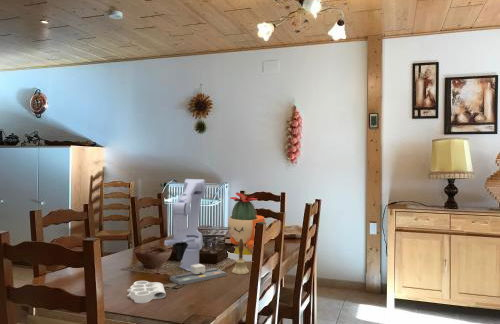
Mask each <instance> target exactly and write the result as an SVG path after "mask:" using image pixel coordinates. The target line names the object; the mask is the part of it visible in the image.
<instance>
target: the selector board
mask: <svg viewBox="0 0 500 324" xmlns="http://www.w3.org/2000/svg"><path fill="white" fill-rule="evenodd" d="M225 276H227V272H226V271H224V270H221V269H219V268H216V267H213V268H208V269H207V268H206V269H205V273H204V274H194V273H192V272H191V271H190V272H187V273H182V274H178V275H177V274H176V275H171V276H169V280H170V281H172V282H173V283H175V284H177V285H179V286H183V284H184V285H187V284H188V285H189V284H193V283H197V282H202V281H203V282H204V281H207V280H213V279H216V278H222V277H225Z"/></svg>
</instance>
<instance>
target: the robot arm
mask: <svg viewBox="0 0 500 324" xmlns="http://www.w3.org/2000/svg"><path fill="white" fill-rule="evenodd" d="M206 186H207V185H206V180H205V178H204V179H202V178H201V179H198V178H196V179H194V178H186V179H184V183H183V188H184V191H183V192H182V193H181V194H180V196H179V197H178V199H177V201H174V203H172V208H171V211H172V212H171V213H172V219H173V238H170V239H167V240H166V239H165V240H164V243H163V245H164V246H166V247H167V246H171V245H172V246H173V248H174V251H175V254H176V257H177V258H176V259H177V260H178V261H180V265H179V266H178V267H179V268H181V269H183V270H185V271H186V272H191V265H196V264H200V250H202V248H203V245H204V241H203V234H202V232H200V231H199V230H198V228H199V218H200V211H201V210H200V208H201V200H202V198H203V197H205V194H206ZM188 215H189V217H188Z"/></svg>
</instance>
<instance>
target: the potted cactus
mask: <svg viewBox="0 0 500 324" xmlns="http://www.w3.org/2000/svg"><path fill="white" fill-rule="evenodd" d="M235 195H236V196H237V197H235V196H234V197H233V196H232V197H229V198H230V199H231V200H233V201H234V202H235V203H234V205H233V207H232V209H231V212H230V214H231V215H230V216H229V217H228V223H227V226H228V231H229V233H230V238H229V241H230V243H231V244H233V245H235V246H233V247H234V248H235V251H234V253H230V252H228V251H227V253H228V257H227V258H228V259H229V258H230V259H229V260H232V259H233V260H232V261H236V260H238V259H239V248H238V246H236V245H238V244H239V241H240V239H242V240H243V243H244V248H243V252H242V255H243V257H242V258H243V260H245V263H246V262H248V263H249V262H253V261H252V251H253V244H254V235H255V225H256V223H258V222H264V223H265V224H266V220H265V216H262V215H258V213H257V210H256V207H255V205H254V203H253V201H257V200H258V198H254V197H255V195H254V194H253V195H250V196H246V195H245V194H243V193H241V192H235Z"/></svg>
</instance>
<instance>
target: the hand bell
mask: <svg viewBox="0 0 500 324" xmlns="http://www.w3.org/2000/svg"><path fill="white" fill-rule="evenodd" d="M237 247H238V248H239V259H238V260H235V264H234V267H233V268H232V270H231V273H233V274H235V275H247V274H248V273H250V270H249V269H248V267H247V265H246V261H245V260H243V258H242V257H243V255H242V252H243V248H244V243H243V240H242V239H240V241H239V244H238V246H237Z"/></svg>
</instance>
